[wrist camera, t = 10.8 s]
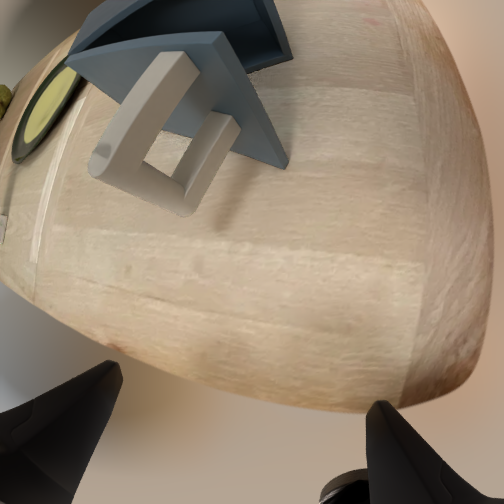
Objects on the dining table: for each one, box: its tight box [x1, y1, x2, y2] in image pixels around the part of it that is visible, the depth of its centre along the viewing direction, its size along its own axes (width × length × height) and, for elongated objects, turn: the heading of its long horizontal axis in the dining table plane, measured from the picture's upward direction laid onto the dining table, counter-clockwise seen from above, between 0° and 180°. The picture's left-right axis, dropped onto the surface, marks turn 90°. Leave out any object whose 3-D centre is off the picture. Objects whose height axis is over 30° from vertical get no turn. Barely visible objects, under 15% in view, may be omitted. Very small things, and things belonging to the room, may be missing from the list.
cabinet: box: [68, 0, 293, 74], centre depth 17 cm, size 9×16×13 cm, turn 104°
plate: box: [11, 55, 82, 164], centre depth 35 cm, size 28×28×2 cm
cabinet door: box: [64, 31, 289, 217], centre depth 16 cm, size 7×16×12 cm, turn 61°
